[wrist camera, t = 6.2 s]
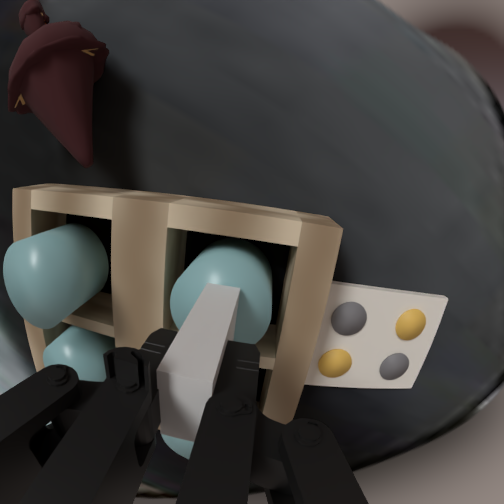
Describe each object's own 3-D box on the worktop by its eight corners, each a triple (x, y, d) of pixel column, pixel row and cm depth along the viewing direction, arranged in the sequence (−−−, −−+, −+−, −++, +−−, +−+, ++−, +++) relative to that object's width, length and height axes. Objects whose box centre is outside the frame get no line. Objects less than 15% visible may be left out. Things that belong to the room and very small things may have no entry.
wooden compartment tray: (63, 362, 23) (41, 385, 19) (48, 183, 18) (12, 188, 15) (281, 414, 22) (281, 450, 18) (328, 216, 18) (343, 228, 14)
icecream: (130, 104, 11) (69, -37, 9) (4, 196, 10) (-18, 24, 9) (158, 147, 18) (95, 13, 16) (65, 206, 17) (22, 61, 16)
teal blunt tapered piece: (191, 305, 19) (169, 343, 15) (197, 232, 18) (172, 253, 13) (265, 317, 19) (262, 360, 14) (278, 244, 18) (279, 269, 13)
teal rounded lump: (80, 357, 21) (51, 389, 17) (72, 307, 20) (36, 335, 16) (129, 373, 21) (104, 411, 17) (125, 322, 20) (93, 357, 15)
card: (292, 378, 21) (292, 384, 20) (316, 278, 19) (318, 282, 18) (408, 383, 21) (412, 389, 20) (444, 295, 19) (449, 299, 18)
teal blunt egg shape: (53, 288, 17) (10, 315, 13) (49, 219, 16) (-1, 234, 12) (109, 303, 17) (69, 339, 13) (108, 227, 16) (60, 247, 12)
